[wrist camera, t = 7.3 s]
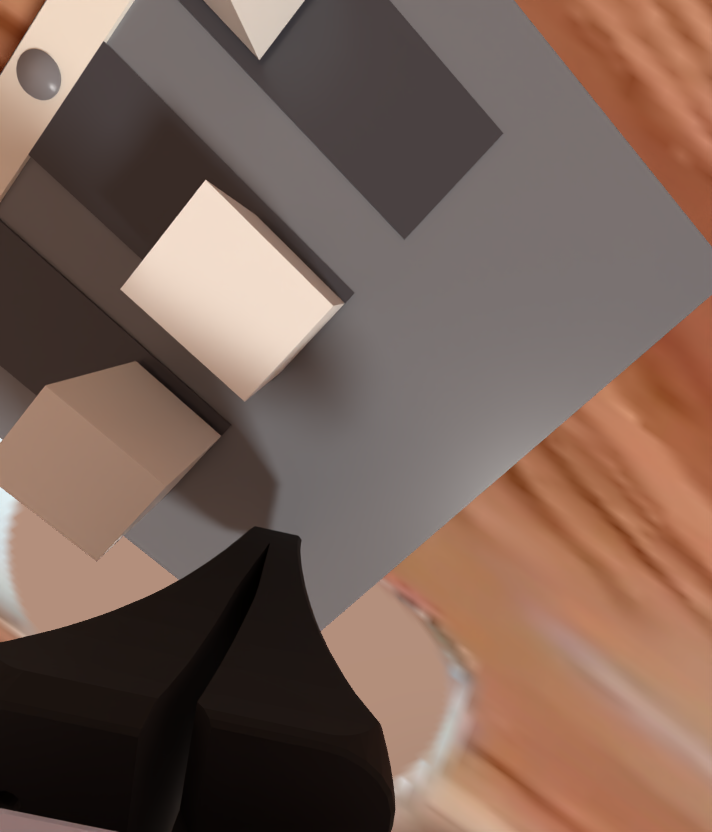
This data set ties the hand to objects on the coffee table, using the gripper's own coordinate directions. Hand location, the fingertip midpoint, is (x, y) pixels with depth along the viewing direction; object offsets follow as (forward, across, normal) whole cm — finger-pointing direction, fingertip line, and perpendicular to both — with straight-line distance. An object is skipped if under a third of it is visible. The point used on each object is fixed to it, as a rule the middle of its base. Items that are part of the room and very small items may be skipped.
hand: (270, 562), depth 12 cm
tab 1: (+1, +4, -2) cm, 5 cm away
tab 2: (+1, +1, -7) cm, 7 cm away
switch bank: (+3, +2, -7) cm, 8 cm away
